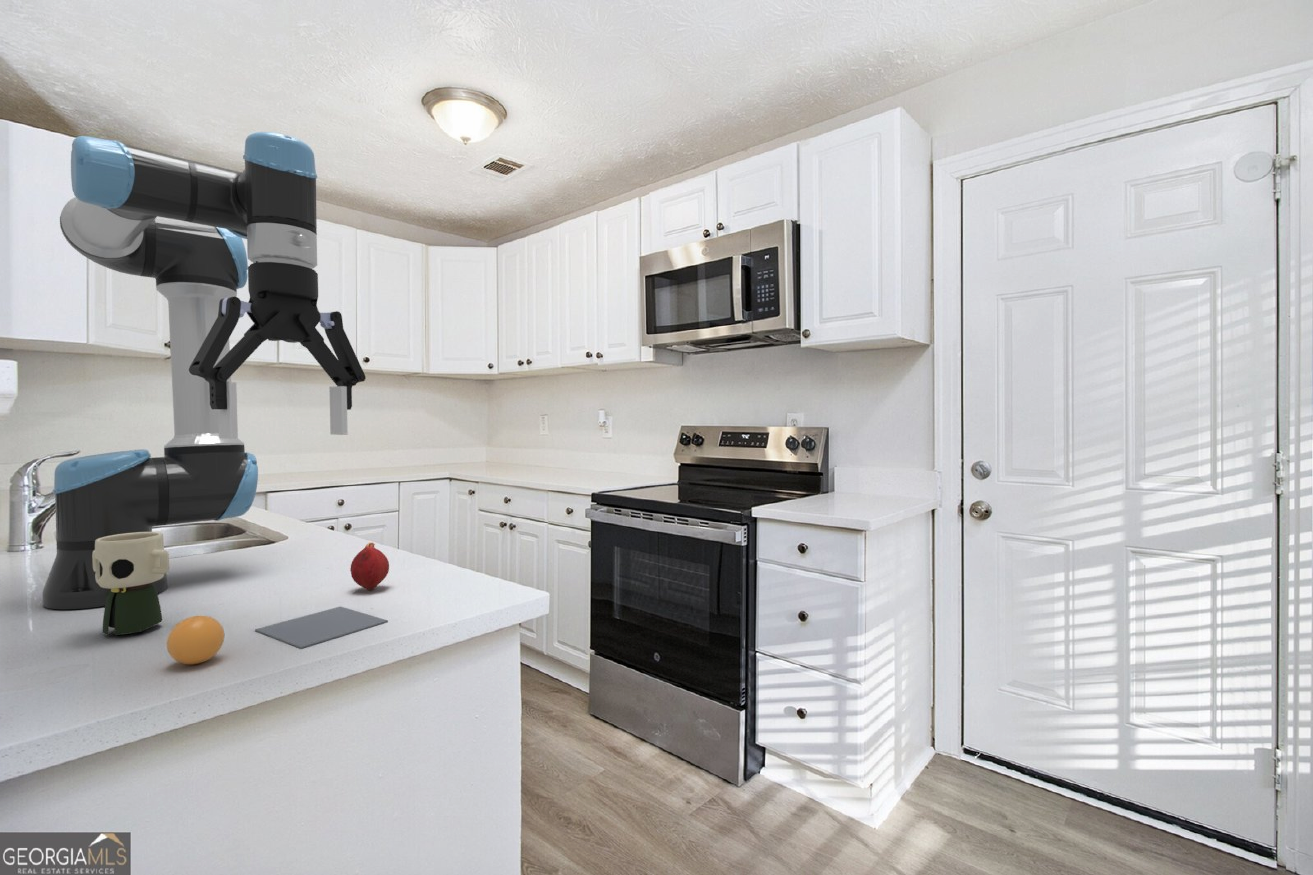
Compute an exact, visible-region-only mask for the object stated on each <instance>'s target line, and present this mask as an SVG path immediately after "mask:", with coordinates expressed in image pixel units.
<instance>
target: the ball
mask: <svg viewBox="0 0 1313 875" xmlns="http://www.w3.org/2000/svg"><path fill="white" fill-rule="evenodd" d="M224 641H225V631H224V628H223V626H222V624H221V623H220V622H219V621H218V620H216V619H215V618H213V617H211V616H206V615H194V616H190V617H187V618H185V619H183V620H181V621H179V622H178V623H177V624H176V625H175V626H174V627H173V628H172V629H171V631H170V632H169V634H168V636H167V639H166V649H167V652H168V654H169V656H170V657H171V658H172V659H173V660H174V661H175V662H178V663H180V664H184V665H197V664H201V663H204V662H206V661H208V660H210V659H212V658H213V657H214V656H215V655H217V653H218V652H219V651H220V650H221V648H222V646H223V644H224Z"/></svg>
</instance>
